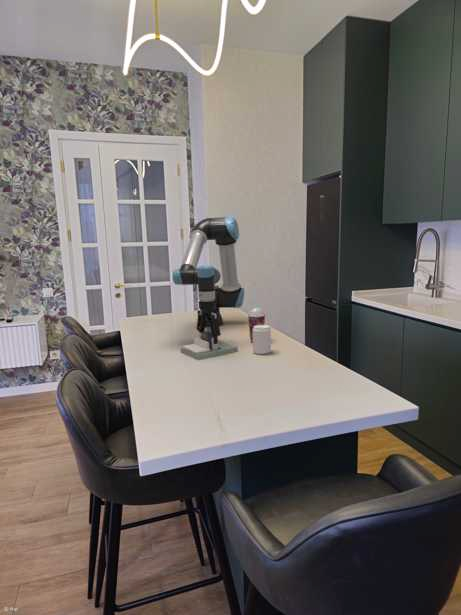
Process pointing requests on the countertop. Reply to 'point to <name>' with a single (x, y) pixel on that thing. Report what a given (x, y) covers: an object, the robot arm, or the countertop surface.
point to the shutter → (198, 346)
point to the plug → (207, 337)
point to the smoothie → (255, 319)
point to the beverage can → (261, 339)
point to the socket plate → (222, 349)
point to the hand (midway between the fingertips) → (208, 348)
